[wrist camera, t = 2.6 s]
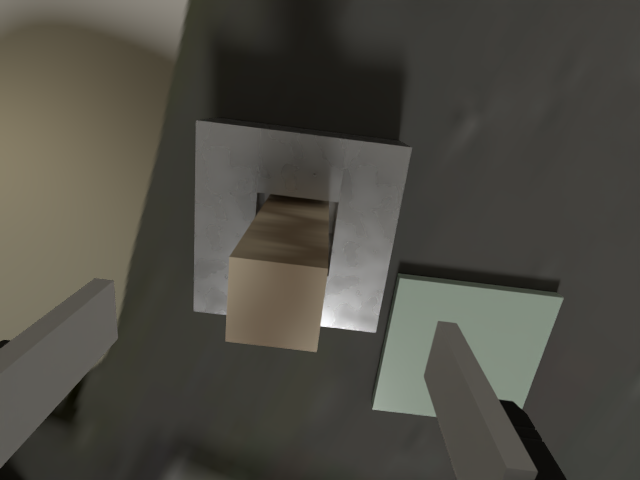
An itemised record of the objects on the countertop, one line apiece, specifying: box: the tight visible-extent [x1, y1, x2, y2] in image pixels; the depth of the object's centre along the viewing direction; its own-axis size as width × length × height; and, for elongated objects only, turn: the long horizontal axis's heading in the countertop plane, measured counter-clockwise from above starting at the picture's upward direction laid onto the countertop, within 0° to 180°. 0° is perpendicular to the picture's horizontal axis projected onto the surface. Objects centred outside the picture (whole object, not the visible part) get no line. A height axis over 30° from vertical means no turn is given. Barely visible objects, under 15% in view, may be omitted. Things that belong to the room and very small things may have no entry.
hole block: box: [194, 117, 412, 333], centre depth 30 cm, size 14×14×5 cm
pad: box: [371, 273, 563, 417], centre depth 35 cm, size 14×14×1 cm
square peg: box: [225, 194, 329, 352], centre depth 24 cm, size 4×4×14 cm
